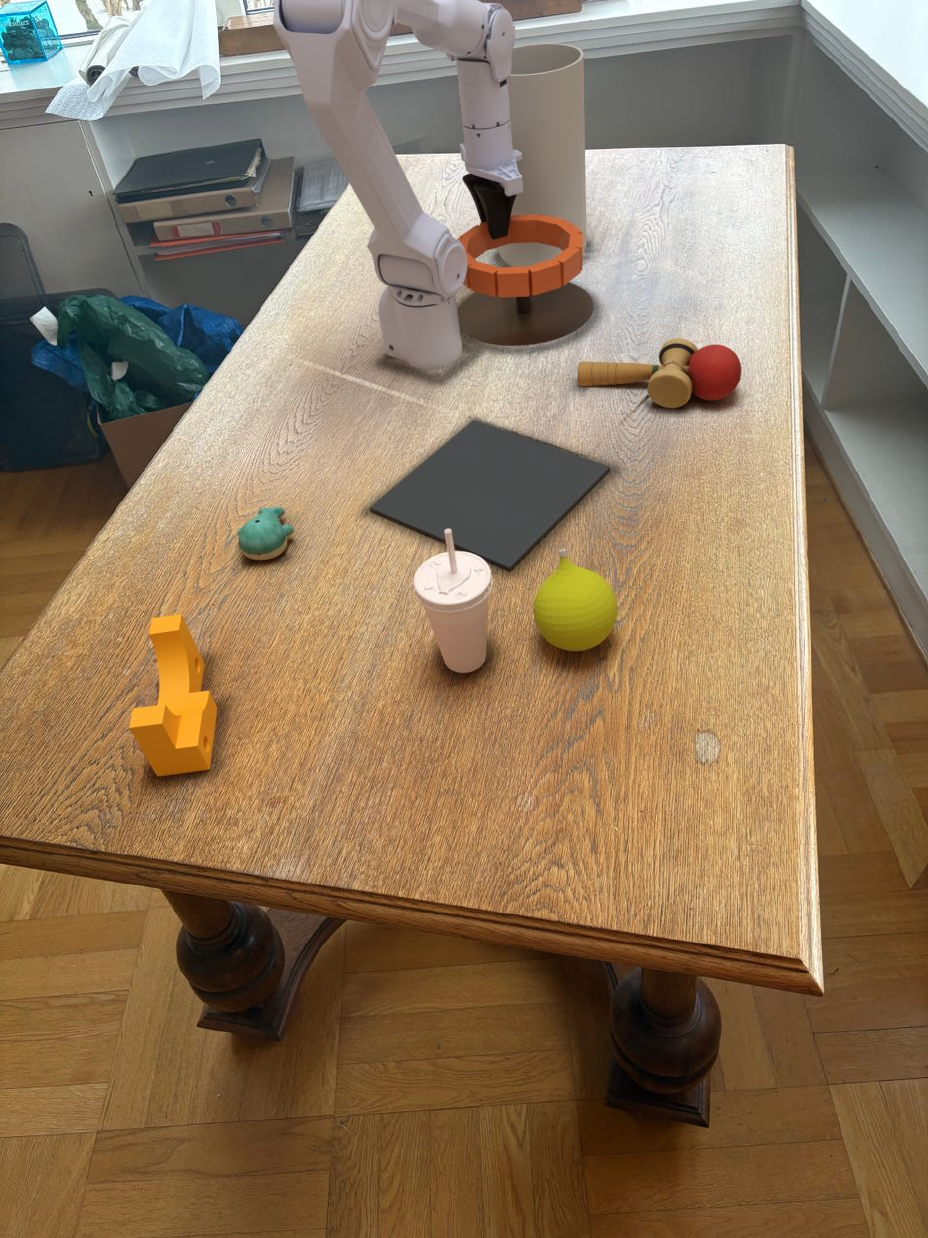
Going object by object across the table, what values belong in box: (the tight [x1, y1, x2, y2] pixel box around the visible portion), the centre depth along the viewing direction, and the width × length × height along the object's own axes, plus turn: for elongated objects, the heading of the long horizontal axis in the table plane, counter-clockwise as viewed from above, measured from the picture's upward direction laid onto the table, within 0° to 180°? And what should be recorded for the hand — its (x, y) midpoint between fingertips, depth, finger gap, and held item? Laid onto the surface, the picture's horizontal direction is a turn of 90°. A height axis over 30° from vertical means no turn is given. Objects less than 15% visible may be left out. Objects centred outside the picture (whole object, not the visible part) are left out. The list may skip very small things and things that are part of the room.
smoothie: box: [413, 529, 494, 674], centre depth 78 cm, size 6×6×14 cm
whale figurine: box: [237, 506, 295, 561], centre depth 96 cm, size 6×7×4 cm
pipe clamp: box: [128, 613, 218, 777], centre depth 79 cm, size 12×4×6 cm, turn 5°
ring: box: [456, 214, 584, 297], centre depth 117 cm, size 16×16×3 cm
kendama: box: [577, 337, 742, 409], centre depth 107 cm, size 8×6×18 cm
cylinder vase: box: [498, 42, 588, 267], centre depth 127 cm, size 12×12×25 cm
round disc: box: [457, 281, 595, 347], centre depth 123 cm, size 18×18×4 cm
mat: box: [369, 419, 611, 572], centre depth 99 cm, size 18×18×1 cm
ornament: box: [532, 536, 618, 652], centre depth 80 cm, size 7×7×10 cm
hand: (496, 233), depth 122 cm, fingers closed on ring
